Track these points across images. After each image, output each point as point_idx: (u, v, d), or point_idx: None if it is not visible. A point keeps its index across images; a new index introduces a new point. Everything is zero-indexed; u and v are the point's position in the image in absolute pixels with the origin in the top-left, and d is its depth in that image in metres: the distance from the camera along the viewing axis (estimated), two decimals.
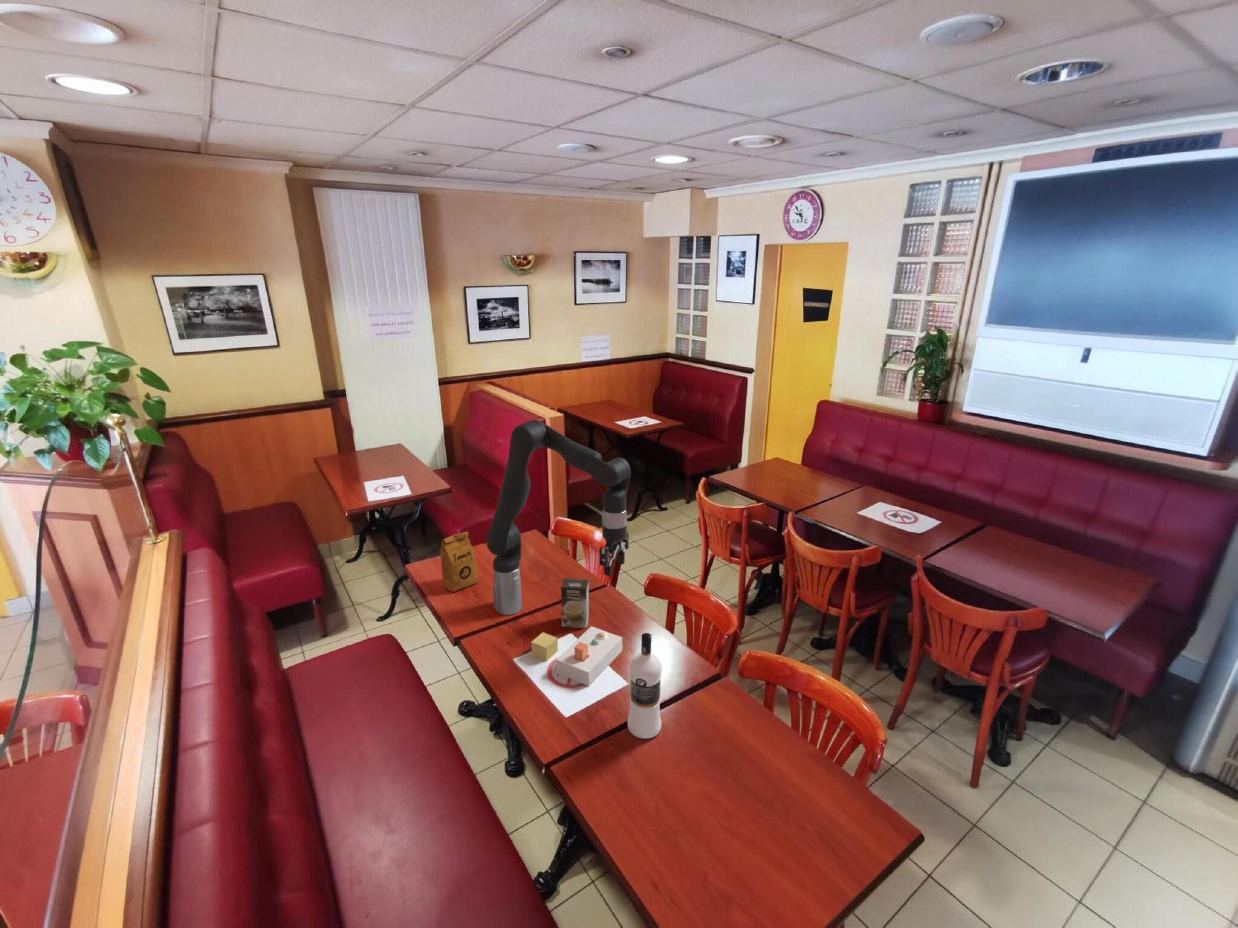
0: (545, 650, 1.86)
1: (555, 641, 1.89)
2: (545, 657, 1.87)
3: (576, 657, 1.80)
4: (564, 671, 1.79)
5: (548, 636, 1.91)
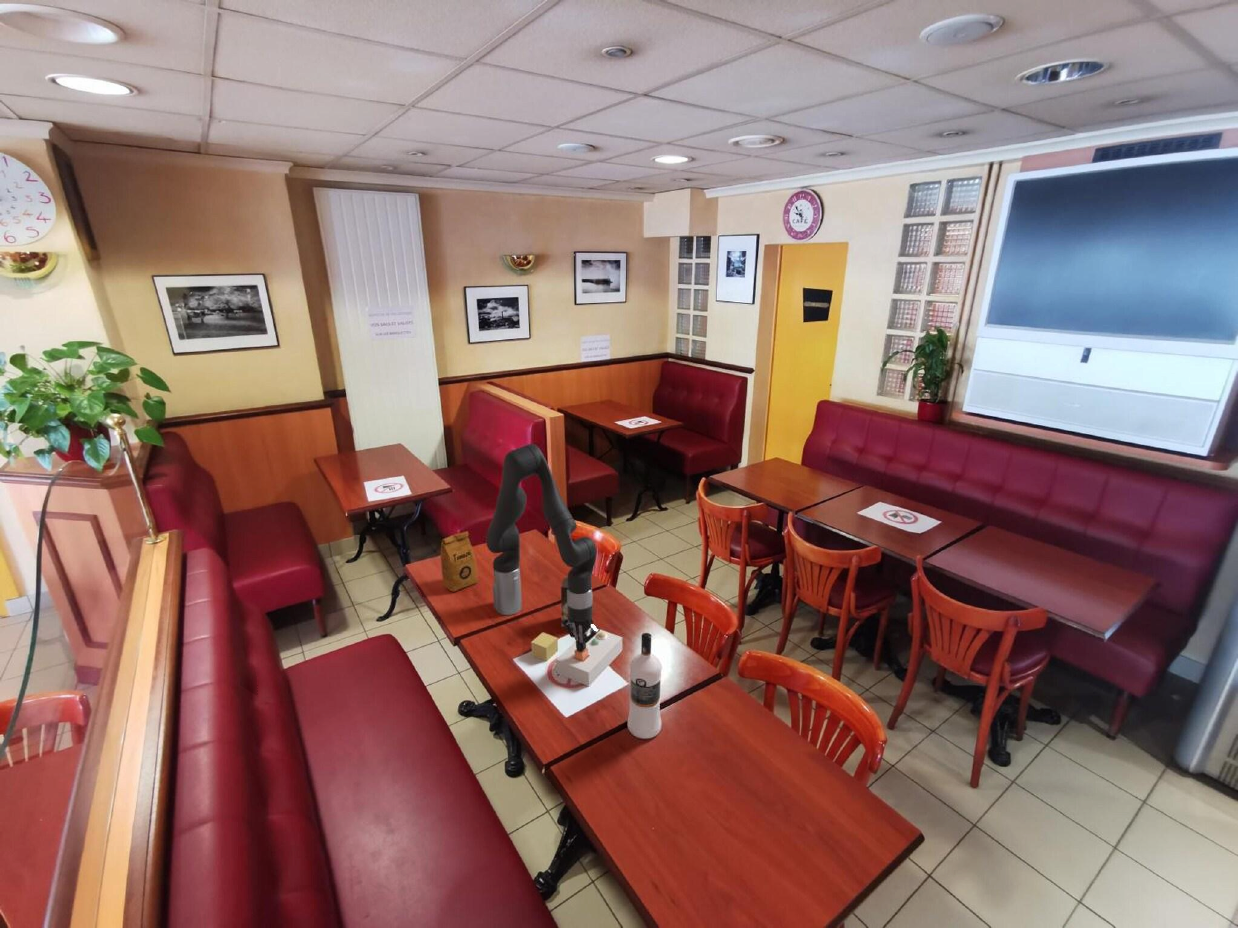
0: (545, 650, 1.86)
1: (555, 641, 1.89)
2: (545, 657, 1.87)
3: None
4: (564, 671, 1.79)
5: (548, 636, 1.91)
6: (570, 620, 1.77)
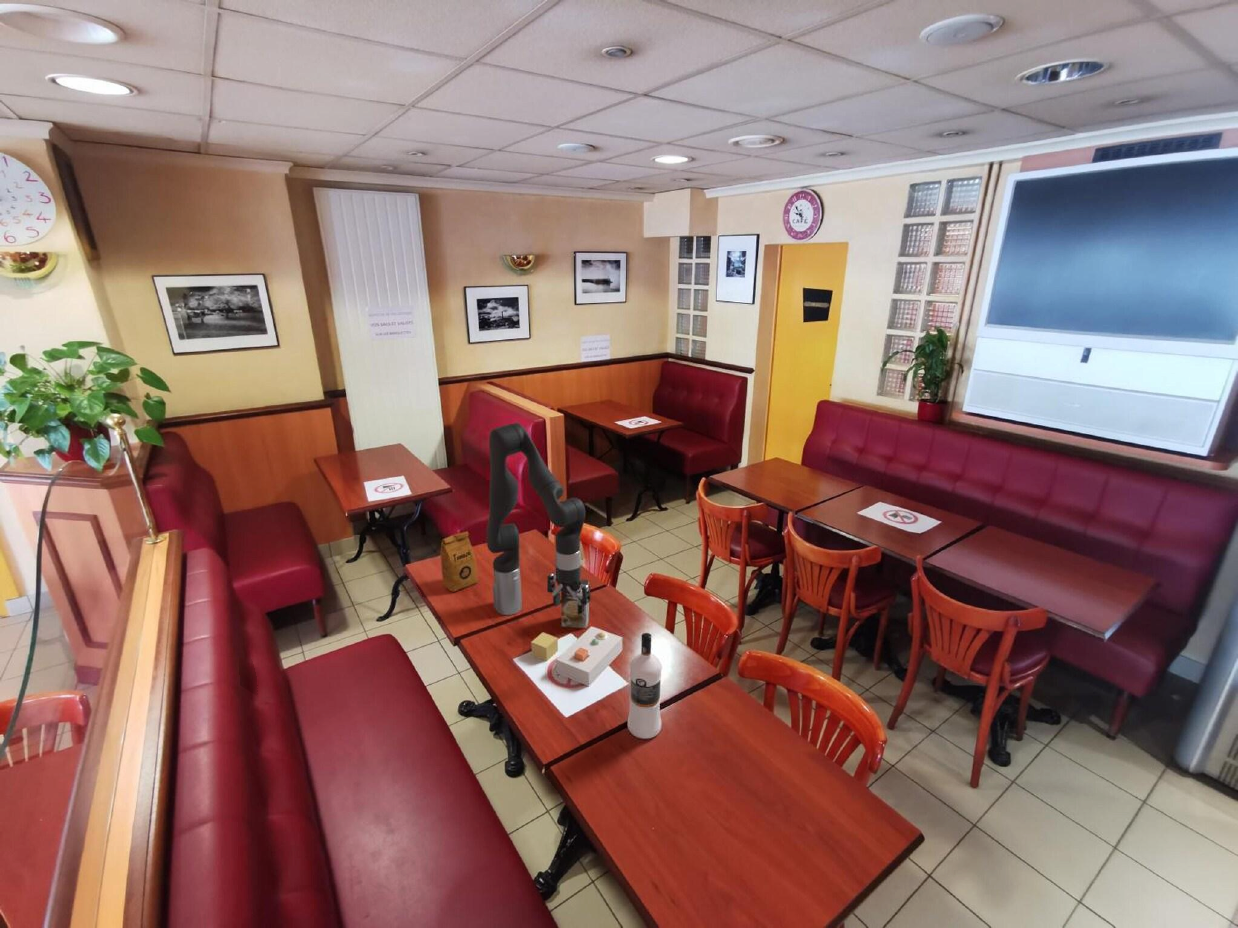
0: (545, 650, 1.86)
1: (555, 641, 1.89)
2: (545, 657, 1.87)
3: None
4: (564, 671, 1.79)
5: (548, 636, 1.91)
6: (557, 581, 1.77)
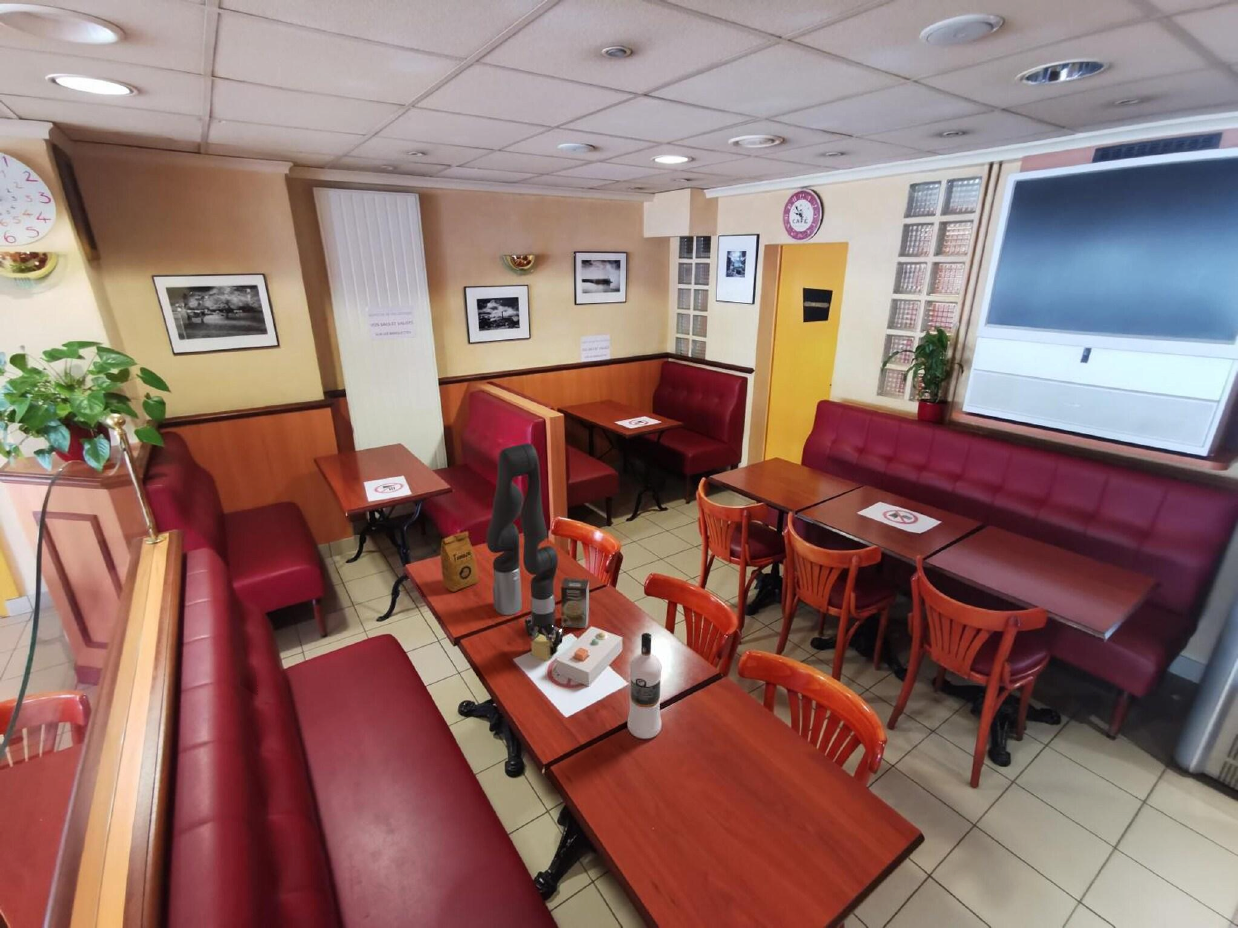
0: (545, 650, 1.86)
1: None
2: (545, 657, 1.87)
3: None
4: (564, 671, 1.79)
5: None
6: (533, 624, 1.88)
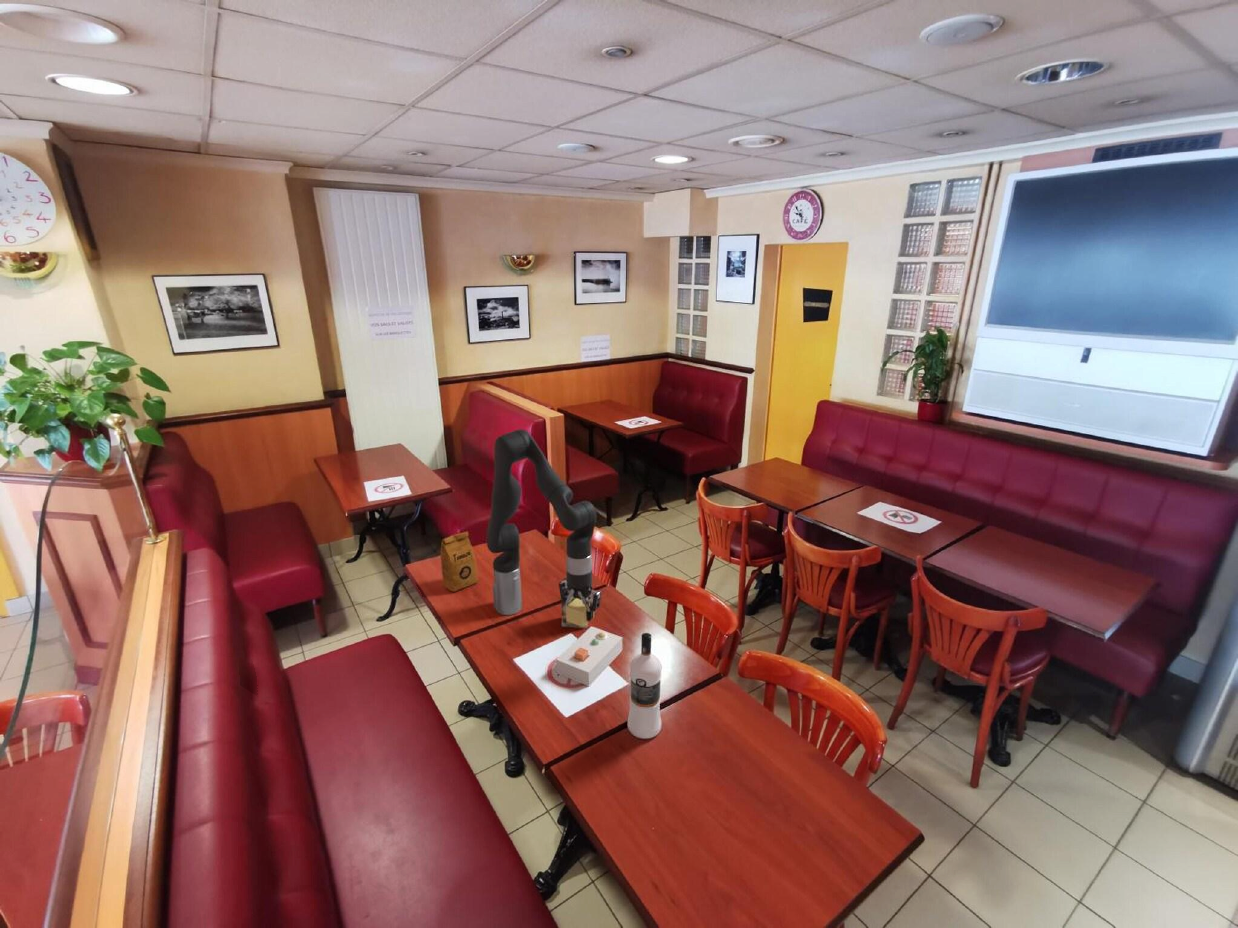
0: (581, 615, 1.72)
1: None
2: (581, 623, 1.72)
3: None
4: (564, 671, 1.79)
5: None
6: (568, 587, 1.74)
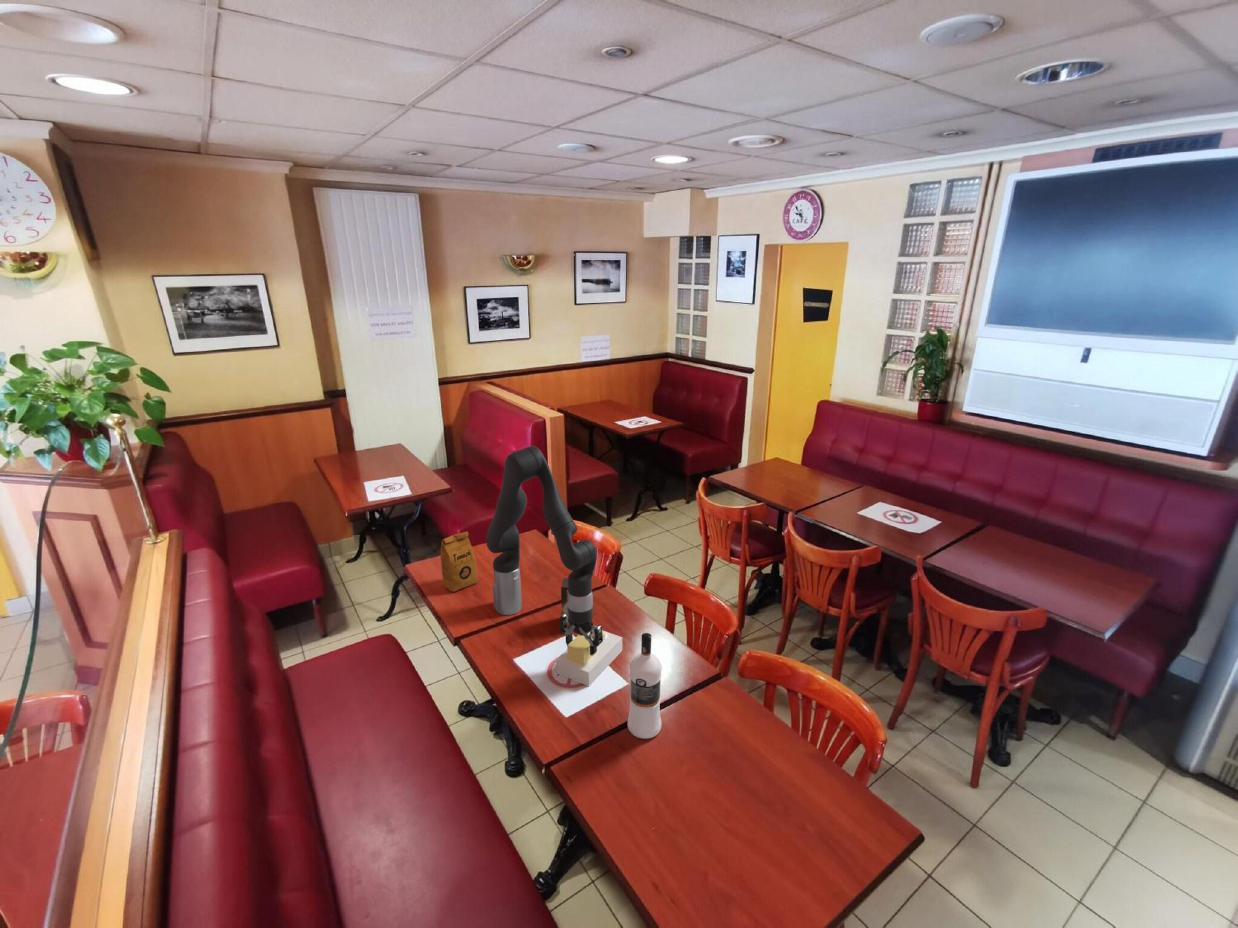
0: (582, 654, 1.76)
1: None
2: (582, 661, 1.77)
3: None
4: (564, 671, 1.79)
5: (584, 639, 1.81)
6: (569, 622, 1.78)
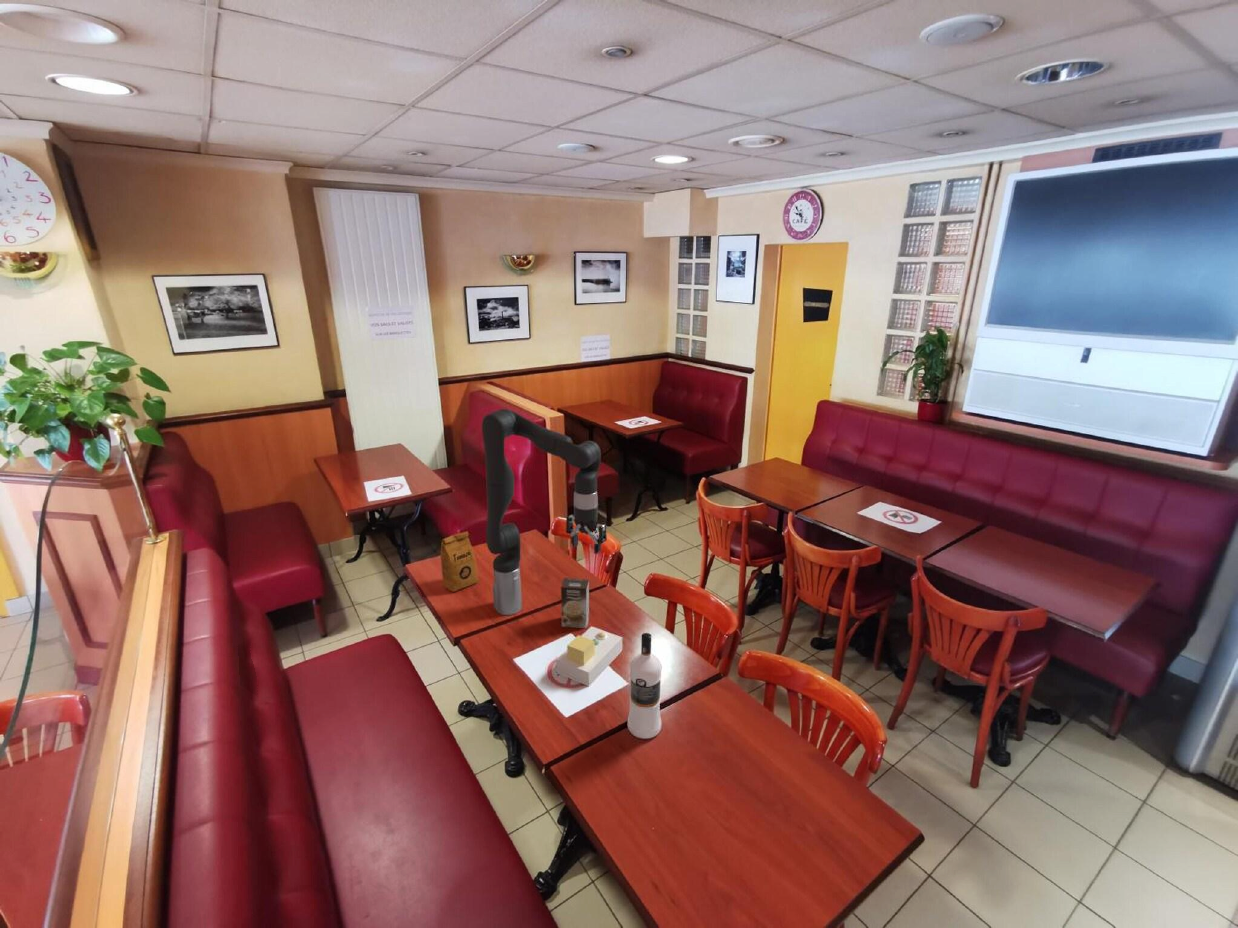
0: (582, 654, 1.76)
1: (592, 644, 1.80)
2: (582, 661, 1.77)
3: None
4: (564, 671, 1.79)
5: (584, 639, 1.81)
6: (575, 522, 1.88)
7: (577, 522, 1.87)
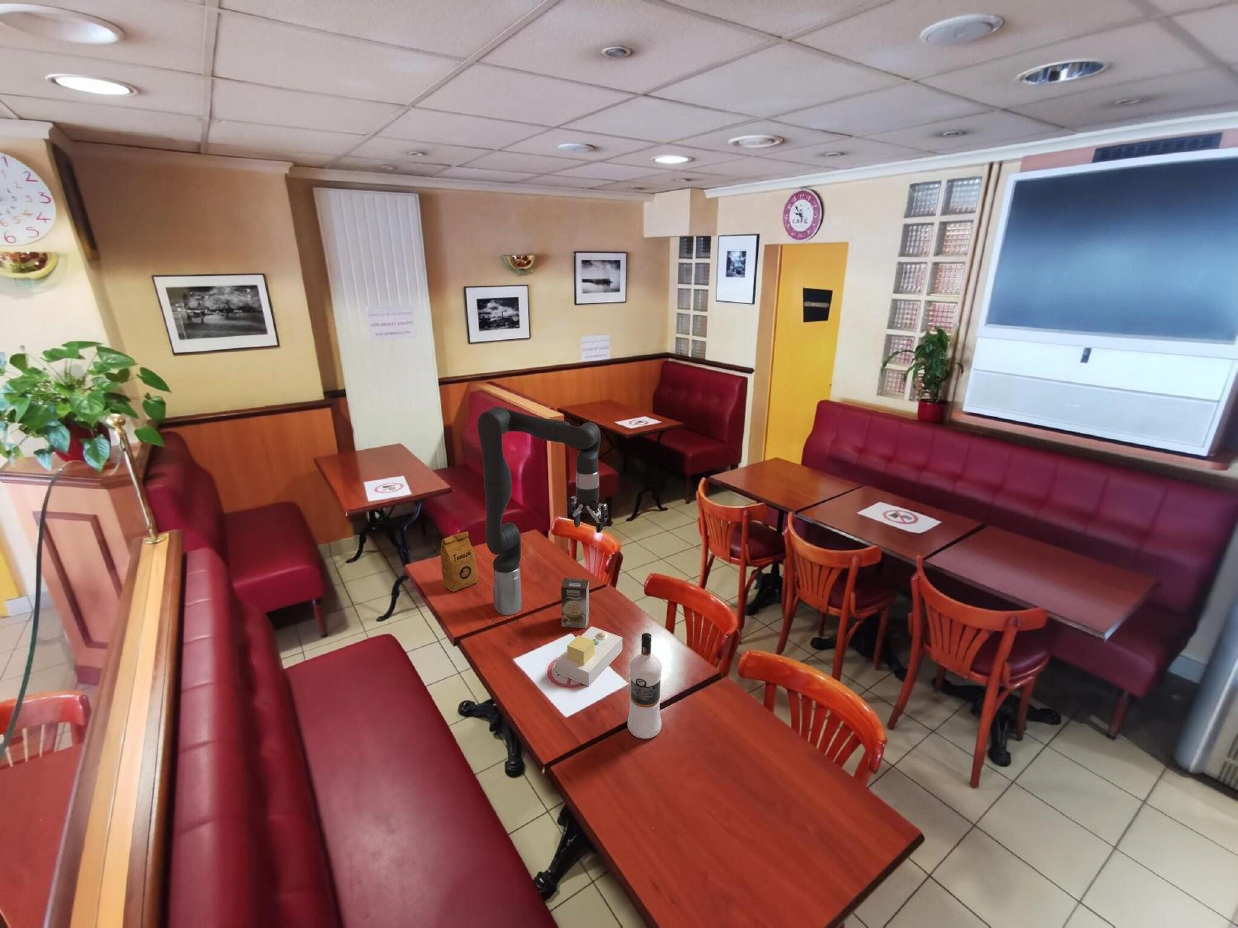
0: (582, 654, 1.76)
1: (592, 644, 1.80)
2: (582, 661, 1.77)
3: None
4: (564, 671, 1.79)
5: (584, 639, 1.81)
6: (577, 503, 1.93)
7: (579, 502, 1.92)
